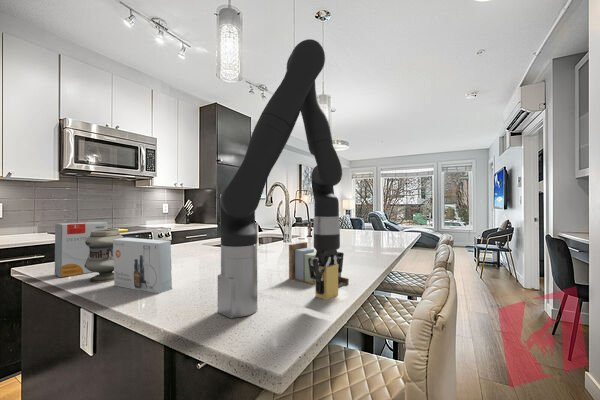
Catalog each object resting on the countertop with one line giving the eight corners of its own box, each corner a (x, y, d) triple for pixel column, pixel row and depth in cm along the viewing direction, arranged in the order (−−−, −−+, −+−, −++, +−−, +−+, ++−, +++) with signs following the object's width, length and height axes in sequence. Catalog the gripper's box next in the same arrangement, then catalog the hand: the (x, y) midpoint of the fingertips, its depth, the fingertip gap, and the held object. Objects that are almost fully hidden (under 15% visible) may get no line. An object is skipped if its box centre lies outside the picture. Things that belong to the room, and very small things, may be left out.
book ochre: (326, 304, 78) (326, 267, 78) (315, 300, 80) (315, 265, 80) (338, 298, 82) (338, 264, 82) (327, 295, 84) (326, 262, 84)
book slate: (303, 280, 96) (303, 251, 96) (295, 278, 99) (294, 249, 99) (313, 277, 100) (313, 249, 100) (305, 275, 103) (305, 247, 103)
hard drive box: (59, 278, 105) (59, 224, 105) (54, 275, 110) (53, 223, 110) (107, 270, 117) (107, 221, 117) (100, 267, 122) (100, 221, 122)
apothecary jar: (76, 282, 100) (76, 231, 100) (106, 273, 112) (106, 227, 112) (104, 284, 97) (104, 231, 97) (132, 275, 109) (132, 228, 109)
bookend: (335, 288, 87) (335, 256, 87) (328, 286, 89) (328, 255, 89) (345, 284, 91) (345, 253, 91) (338, 283, 93) (338, 252, 93)
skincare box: (112, 286, 95) (111, 239, 95) (127, 282, 100) (127, 237, 100) (158, 294, 87) (158, 242, 87) (172, 289, 92) (172, 240, 92)
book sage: (312, 282, 94) (312, 255, 94) (304, 280, 96) (304, 254, 96) (322, 279, 98) (322, 253, 98) (314, 277, 100) (314, 252, 100)
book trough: (333, 293, 86) (333, 251, 86) (289, 281, 99) (288, 244, 99) (348, 287, 92) (348, 247, 92) (305, 277, 105) (304, 242, 105)
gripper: (321, 235, 73) (321, 300, 73) (351, 230, 84) (351, 288, 84) (300, 233, 78) (300, 294, 78) (330, 229, 89) (331, 283, 89)
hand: (326, 290), depth 81 cm, fingers closed on book ochre, 5 cm apart
